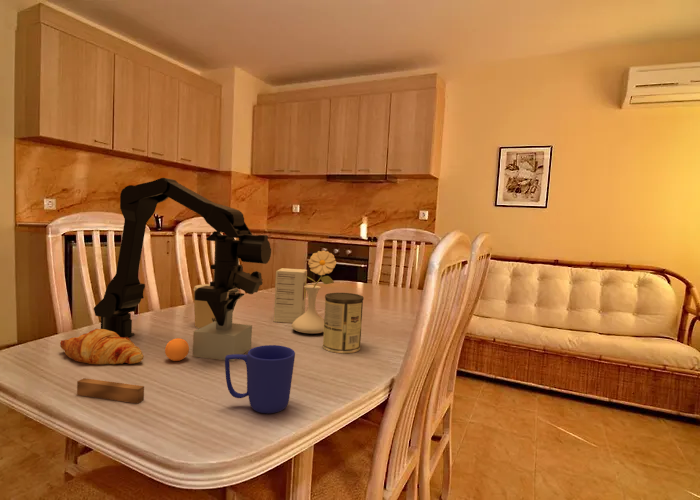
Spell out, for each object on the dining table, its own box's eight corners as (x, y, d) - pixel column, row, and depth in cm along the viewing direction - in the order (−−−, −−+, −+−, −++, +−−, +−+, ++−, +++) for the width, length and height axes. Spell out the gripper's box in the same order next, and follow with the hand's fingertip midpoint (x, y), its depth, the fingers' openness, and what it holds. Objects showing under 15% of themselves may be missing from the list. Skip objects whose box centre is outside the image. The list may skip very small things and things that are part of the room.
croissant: (150, 375, 92) (163, 340, 95) (122, 368, 83) (137, 330, 86) (70, 362, 96) (85, 329, 99) (35, 354, 87) (52, 317, 90)
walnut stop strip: (77, 394, 73) (77, 381, 72) (83, 391, 74) (84, 378, 74) (138, 403, 71) (138, 389, 71) (143, 399, 72) (144, 386, 72)
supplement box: (301, 324, 132) (304, 272, 131) (272, 322, 132) (275, 270, 131) (305, 317, 141) (307, 269, 140) (278, 315, 141) (280, 267, 140)
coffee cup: (214, 331, 117) (216, 290, 117) (185, 327, 119) (186, 287, 118) (230, 324, 127) (232, 285, 126) (203, 320, 128) (204, 283, 128)
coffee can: (333, 339, 116) (335, 290, 116) (366, 346, 112) (369, 295, 111) (315, 348, 107) (318, 295, 106) (350, 356, 103) (353, 301, 102)
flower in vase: (283, 332, 120) (288, 248, 119) (302, 324, 131) (306, 247, 129) (323, 340, 115) (328, 252, 114) (339, 331, 126) (344, 250, 124)
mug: (228, 396, 76) (230, 343, 75) (293, 397, 77) (296, 345, 76) (217, 417, 68) (220, 358, 67) (290, 418, 69) (293, 360, 68)
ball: (159, 362, 91) (160, 340, 90) (173, 355, 95) (173, 334, 95) (180, 365, 90) (181, 342, 89) (192, 358, 95) (193, 336, 94)
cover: (192, 356, 96) (194, 312, 95) (213, 344, 106) (215, 304, 105) (233, 361, 94) (235, 316, 93) (251, 348, 104) (252, 307, 103)
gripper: (242, 266, 88) (239, 337, 89) (272, 260, 106) (269, 318, 107) (194, 263, 90) (191, 332, 91) (231, 256, 108) (229, 314, 109)
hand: (224, 324), depth 99 cm, fingers closed on cover, 3 cm apart
